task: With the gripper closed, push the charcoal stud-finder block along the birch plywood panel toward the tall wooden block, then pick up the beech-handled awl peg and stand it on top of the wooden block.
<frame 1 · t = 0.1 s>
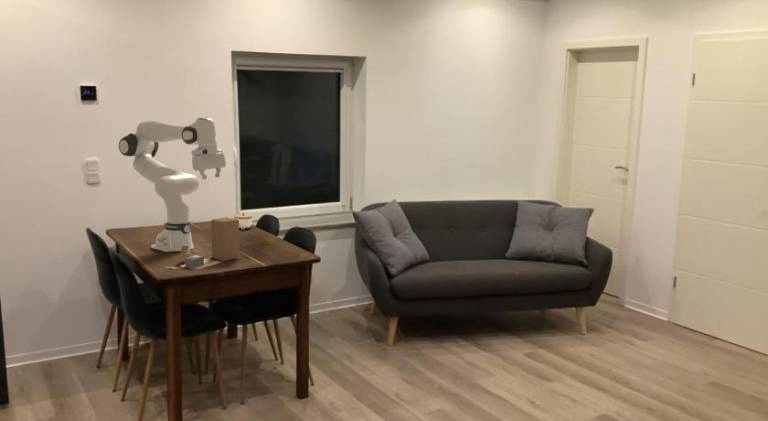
hand: (211, 178, 333), 39 cm above the table, tool pointing down, fingers open, 8 cm apart
wooden block: (226, 259, 329), on the table
plywood panel: (200, 265, 315), on the table
lidded jar: (243, 228, 407), on the table
awl peg: (185, 263, 319), on the table
stud finder: (194, 265, 312), point 1 cm above the table, touching plywood panel
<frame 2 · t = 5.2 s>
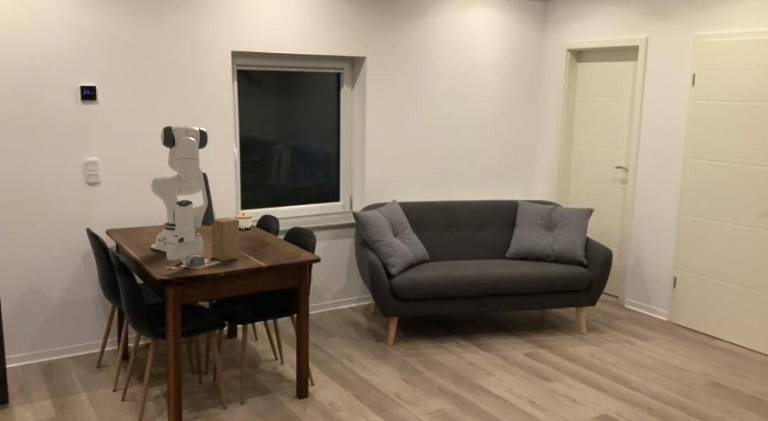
hand: (186, 265, 307), 2 cm above the table, tool pointing down, fingers closed
stud finder: (195, 265, 312), point 1 cm above the table, touching gripper, plywood panel
everything else where it was.
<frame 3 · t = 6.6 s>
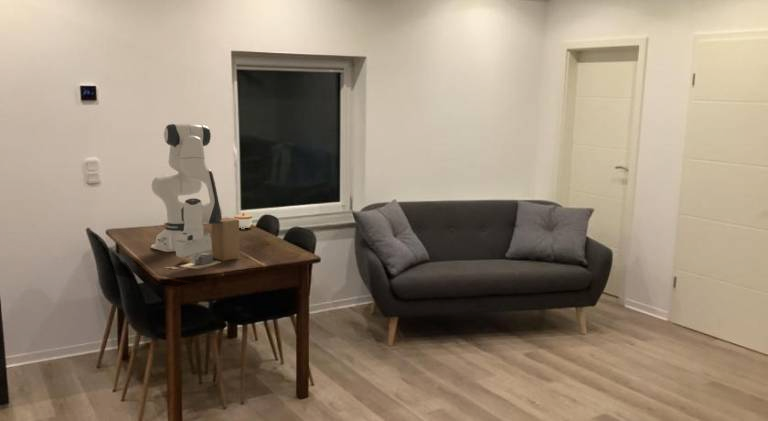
hand: (195, 263, 312), 2 cm above the table, tool pointing down, fingers closed
wooden block: (226, 259, 329), on the table, touching arm
stud finder: (203, 263, 317), point 1 cm above the table, touching gripper, plywood panel
everything else where it was.
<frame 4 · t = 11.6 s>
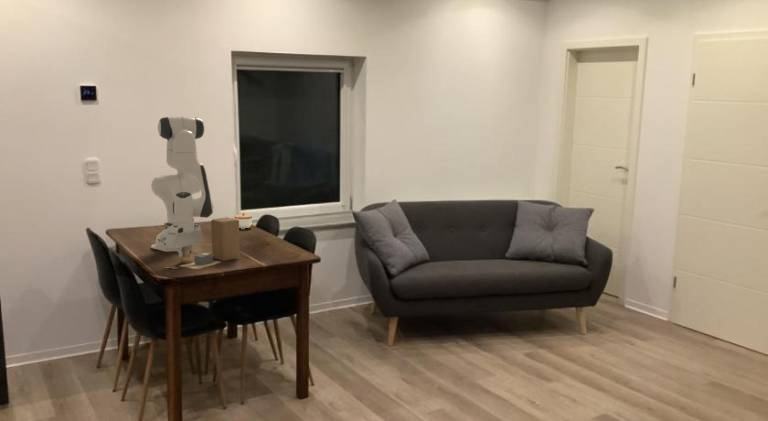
hand: (185, 255, 319), 4 cm above the table, tool pointing down, fingers closed on awl peg, 4 cm apart
wooden block: (226, 259, 329), on the table
awl peg: (185, 263, 319), on the table, touching gripper
stud finder: (203, 263, 317), point 1 cm above the table, touching plywood panel
everything else where it was.
when the fingers open (26 cm above the table, at t = 16.8 s): awl peg drops 2 cm, resting on wooden block.
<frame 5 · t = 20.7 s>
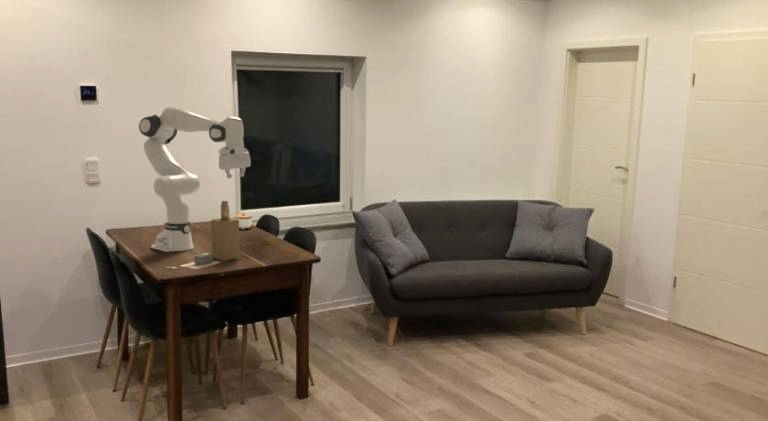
hand: (235, 177, 336), 39 cm above the table, tool pointing down, fingers open, 8 cm apart
wooden block: (226, 259, 329), on the table, touching awl peg
awl peg: (225, 219, 326), point 20 cm above the table, touching wooden block
everything else where it was.
at the end: stud finder inside the target area (0.6 cm from its centre), point 1.0 cm above the table; awl peg inside the target area on the wooden block (0.1 cm from its centre), point 20.3 cm above the wooden block's base; awl peg tilted 2° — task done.
